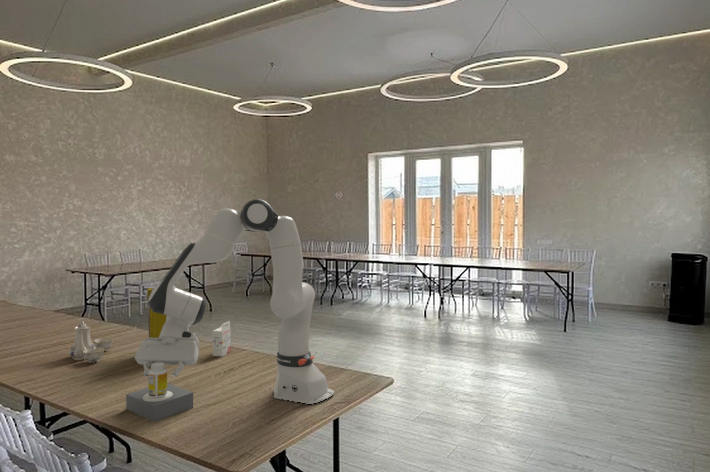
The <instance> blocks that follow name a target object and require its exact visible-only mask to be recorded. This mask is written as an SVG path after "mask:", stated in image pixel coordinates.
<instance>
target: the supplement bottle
mask: <svg viewBox="0 0 710 472" xmlns="http://www.w3.org/2000/svg"><path fill="white" fill-rule="evenodd" d="M149 370H150V371H149V372H148V376H147V377H148V380H147V381H148V387H149V396H150V397H151V398H159V397H163V396H165V395H166V394H167V383H168V370H167V368H165V365H164V363H162V362H157V363H153V364H150V369H149Z"/></svg>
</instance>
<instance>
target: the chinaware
mask: <svg viewBox="0 0 710 472" xmlns="http://www.w3.org/2000/svg"><path fill="white" fill-rule="evenodd" d="M91 327H92V326H90V325H88V324H86V323H85V322H84V321H83V320H82V321H81V322H80V324H78V326H75V327H74V328H73V329H74V333H75V334H74V335H75V337H74V341H73V344H72V345H71V347H70V348H69V349H68V355H69V356H70V357H72V358H71V359H72V360H73V359H74V360H73V361H82V360H83V359H84V360H83V361H84V362H85V363H89V364H95V362H96V363H98V362H99V361H100V360H101V358H102V357H103V355H104V351H106V352H108V351H107V350H109V349H110V348H111V347H112V345H113V342H114V337H110V338H108V337H102V338H99V339H98V338H96V339H94V340H93V341H92V338H91V333H90V331H91ZM86 360H87V361H86Z"/></svg>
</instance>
